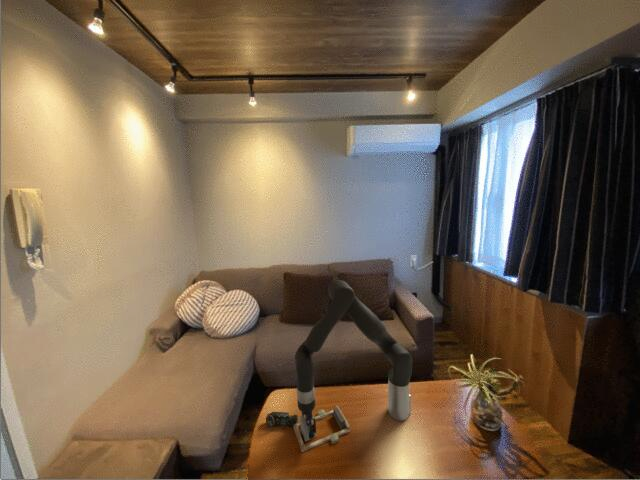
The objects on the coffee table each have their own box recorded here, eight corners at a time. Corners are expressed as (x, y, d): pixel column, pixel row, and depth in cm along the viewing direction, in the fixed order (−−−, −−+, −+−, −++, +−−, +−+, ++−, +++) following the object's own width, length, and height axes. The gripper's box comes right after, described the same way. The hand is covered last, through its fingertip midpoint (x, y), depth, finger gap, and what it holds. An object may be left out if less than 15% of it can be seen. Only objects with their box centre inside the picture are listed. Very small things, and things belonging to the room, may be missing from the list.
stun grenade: (298, 421, 117) (268, 420, 118) (297, 408, 116) (267, 407, 118) (295, 433, 110) (264, 431, 112) (294, 419, 110) (263, 417, 112)
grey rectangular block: (312, 427, 113) (311, 412, 111) (316, 437, 108) (315, 421, 107) (301, 431, 111) (300, 416, 110) (305, 441, 106) (303, 425, 105)
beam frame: (336, 406, 123) (335, 399, 123) (352, 435, 108) (352, 427, 108) (292, 423, 115) (291, 415, 115) (303, 456, 100) (303, 448, 100)
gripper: (320, 405, 101) (322, 440, 104) (308, 382, 114) (310, 413, 117) (302, 412, 98) (305, 447, 101) (292, 387, 111) (295, 419, 114)
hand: (308, 429), depth 109 cm, fingers open, 8 cm apart
